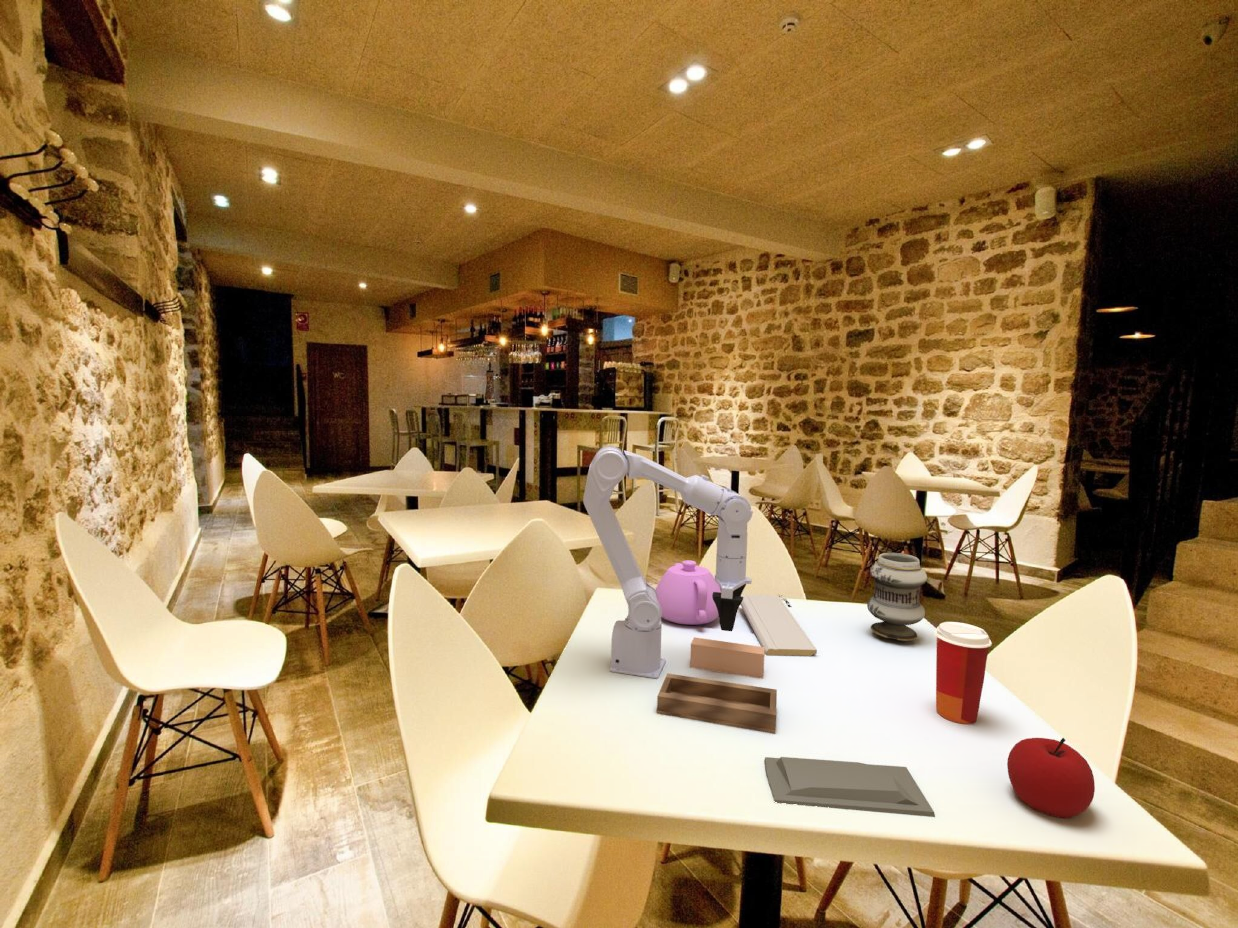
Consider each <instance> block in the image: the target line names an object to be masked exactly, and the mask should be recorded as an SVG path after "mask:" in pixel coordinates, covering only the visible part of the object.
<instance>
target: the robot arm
mask: <svg viewBox="0 0 1238 928" xmlns="http://www.w3.org/2000/svg"><path fill="white" fill-rule="evenodd" d="M626 475H627V480H633V479H639V478H644V479H646V480H649V481H652V482H654V483H656V484H658V485H661V486H663V487H665V488H667V489H670V490H673V491H675V492H677V493H679V494H680V496H681V500H682V502H683V503H685V504H687V505H689V506H691V507H693V508H696V509H698V510H700V511H702V512H705V513H707V514H709V515H711V516H718V522H717V523H718V524H717V527H718V528H717V532H716V533H717V535H716V556H715V557H716V558H715V559H716V560H715V562H716V563H715V575H714V579H715V581H716V583H717V584H718V585H719V587H720V589H721V593H719V592H713V594H712V598H713V601H714V602H715V605H716V607H717V610H718V615H719V616H718V620H719V626H720V630H721V631H723V632H724V631H726V632H732V631H733V630H734V626H735V621H736V619H737V613H738V610H739V608H740V607H741V605H740V604H741V602H742V601H743V597H741V594H743V591H744V590H745V588H746V586H747V585H751V584H752V582H753V581H752V579H753V578H752V577H748V576H747V575H746V573H747V552H748V523H749V522H750V521H751V519H752V517H753V513H754V512H753V510H752V507H751V504H750V502H749V501H748V499H746V498H745V497H744V496H742V495H740V494H739V493H737V491H734V490H732V488H731V487H729V486H725V487H724V486H721V485H719V484H717V483H714V482H713V481H711V480H710V477H709V476H706V475H704V474H701V476H699V475H697V474H694V475H692V476H688V477H684V476H683V475H681V474H679V473H677V472H675V471H673V470H671V469H669V468H667V467H665V466H663V465H661V464H659V463H657V462H655V461H654V460H652V459H649V458H647V457H646V456H643V455H640V454H637V453H635V452H631V451H628V450H623V451H622V450H621V449H620V448H618V447H617V446H613V445H608V446H603V447H601V448H600V449H598V451H597V452H596V454H595V455H594V457H593V459H592V461H591V462H590V464H589V469H588V472H587V478H586V481H585V487H584V492H583V493H584V494H583V497H582V499H583V500H582V502H583V505H584V508H585V510H586V511H587V514H588V516H589V518H590V520H591V523H592V526H593V528H594V529H595V532H596V534H597V536H598V538H599V540H600V542H601V544H602V546H603V548H604V551H605V553H606V555H607V557H608V560H609V563H610V565H611V566H612V569H613V571H614V573H615V575H616V578H617V579H618V582H619V584H620V587H621V590H622V593H623V595H624V598H625V600H626V601H625V602H626V603H627V606H628V608H627V609H628V613H627V616H626V617H625V619H624V620H623V619H622V620H620V619H619V620H616V621H615V622H614V626H613V628H612V634H611V651H610V652H611V653H610V654H611V655H610V657H611V658H610V659H611V662H610V668H609V671H610V672H611V673H617V674H623V675H625V674H626V675H631V676H637V677H643V678H649V679H659V677H660V674H661V672H662V671H663V668H664V666H665V664H666V659H665V658H662V657H661V655H662V630H663V629H662V624H663V623H662V618H663V617H662V610H661V607H660V605H659V602H658V596H657V593H656V591H655V590H656V588H654V586H652V585H650V584H649V583H648V582H647V580H646V578H645V576H644V574H643V572H642V570H641V568H640V567H639V564H638V562H637V559H636V558H635V555H634V553H633V551H632V548H631V547H630V544H629V543H628V540H627V538H626V536H625V533H624V531H623V529H622V525H620V522H619V520H618V518H617V515H616V513H615V511H614V509H613V506H612V505H611V502H610V500H611V497H612V494H613V492H614V490H615V488H616V486H618V484H619V483H621V482H622V480H623V478H625V476H626Z"/></svg>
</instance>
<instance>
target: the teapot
mask: <svg viewBox="0 0 1238 928" xmlns="http://www.w3.org/2000/svg"><path fill="white" fill-rule="evenodd" d="M655 591H656V593H657V596H658V602H659V605H660V607H661V610H662V617H661V618H662V619H664V620H666V621H669V622H671V623H675V624H679V625H690V626H691V625H692V626H693V625H694V626H695V625H704V624H709V623H711V622H713V621H715V620H716V619H717V618H719V615H718V610H717V607H716V605H715V602H714V601H713V598H712V594H713V592H719V593H721V589H720V587H719V585H718V584H717V583H716V581H715V576H714V575H713V574H712V572H711V571H710V570H709V569H708V568H706V567H705V566H704V567H703V566H702V565H701V566H699V565H697V562H696V561H694V560H689V559H688V560H683V561H682V562H681V563H680V562H676V563H674V564H673V565H672V566H669V568H668V569H667V570H666V571H665V573H664V574H663V575H662V577H661V578H660V580H659V582H658V583H657V585H656V588H655Z"/></svg>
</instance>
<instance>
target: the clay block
mask: <svg viewBox="0 0 1238 928" xmlns="http://www.w3.org/2000/svg"><path fill="white" fill-rule="evenodd" d="M765 656H766V654H765V647H762V646H759V645H750V644H744V643H738V642H730V641H724V640H723V641H722V640H716V639H709V638H708V639H707V638H701V637H694V636H693V638H692V641H691V642H690V656H689V657H690V659H689V660H690V661H689V668H692V669H693V668H694V669H697V670H698V669H699V670H705V671H711V672H712V671H713V672H717V673H724V674H730V675H735V676H737V675H738V676H744V677H750V678H756V679H761V680H762V679H764V672H765V671H764V670H765Z"/></svg>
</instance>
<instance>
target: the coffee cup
mask: <svg viewBox="0 0 1238 928" xmlns="http://www.w3.org/2000/svg"><path fill="white" fill-rule="evenodd" d="M933 635H934V636H935V638H936V665H935V666H936V671H935V673H936V674H935V675H936V676H935V677H936V679H935V685H936V686H935V708H936V712H937V714H938V715H939V716H941V717H942V718H944V719H946V721H947V720H948V721H950V722H953V723H956V724H962V725H972V724H975V723H976V722H977V719H978V716H979V710H980V705H981V704H980V703H981V697H982V692H983V688H984V687H983V686H984V682H985V674H986V669H987V667H986V666H987V661H988V654H989V648H990V647H991V646H992V644H993V643H992V641H991V639H990V636H989V634H988V632H986V631H985V629H983V628H981V627H978V626H976V625H972V624H969V623H965V622H959V621H944V622H941V623H939V625H938V626H937V627H936V629H935V631H934V632H933Z"/></svg>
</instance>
